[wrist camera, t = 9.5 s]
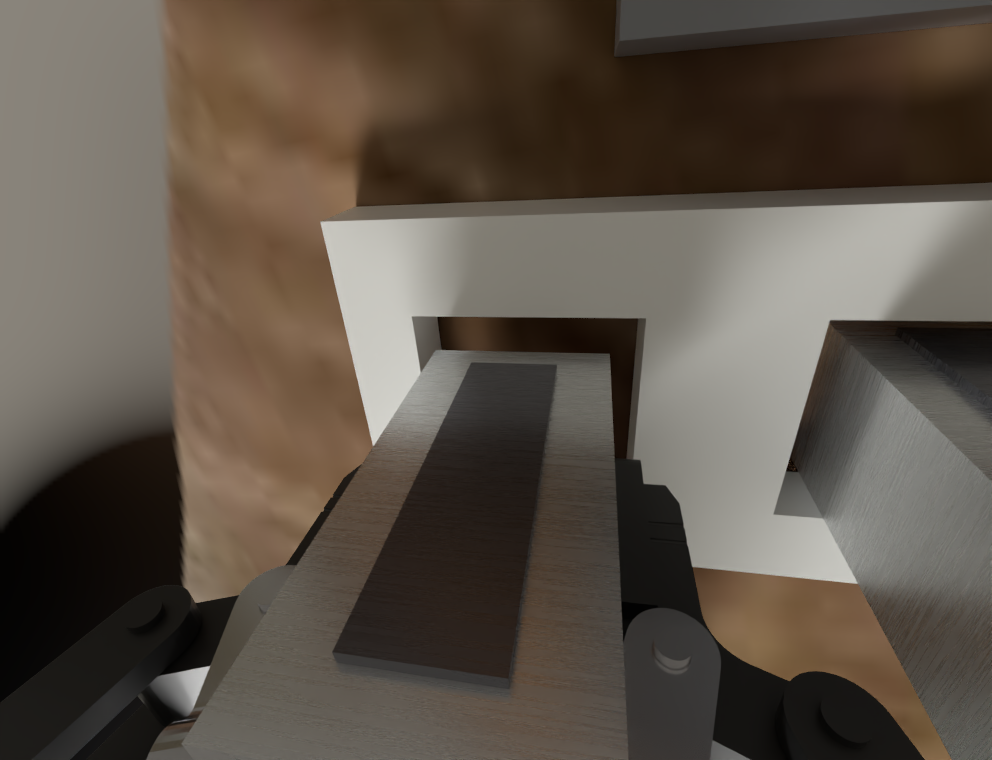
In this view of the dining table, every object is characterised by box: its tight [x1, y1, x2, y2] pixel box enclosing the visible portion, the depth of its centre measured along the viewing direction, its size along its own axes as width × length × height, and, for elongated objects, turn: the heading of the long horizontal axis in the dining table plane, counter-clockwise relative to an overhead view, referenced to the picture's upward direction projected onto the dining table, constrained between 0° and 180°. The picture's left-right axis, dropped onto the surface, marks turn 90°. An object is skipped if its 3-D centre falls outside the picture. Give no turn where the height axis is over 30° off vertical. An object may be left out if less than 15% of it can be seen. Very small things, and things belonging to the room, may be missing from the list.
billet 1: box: [182, 350, 628, 760], centre depth 9 cm, size 4×5×9 cm
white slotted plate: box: [321, 183, 992, 584], centre depth 14 cm, size 20×11×2 cm, turn 94°
